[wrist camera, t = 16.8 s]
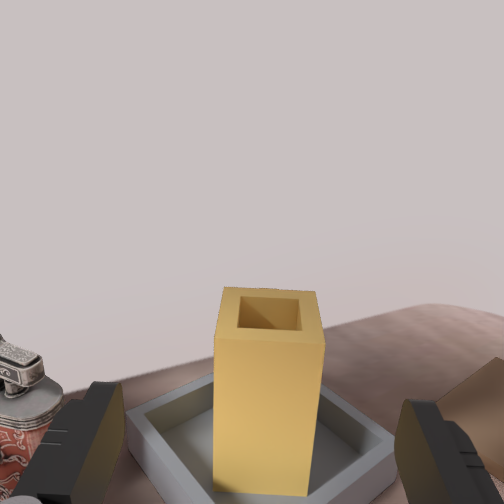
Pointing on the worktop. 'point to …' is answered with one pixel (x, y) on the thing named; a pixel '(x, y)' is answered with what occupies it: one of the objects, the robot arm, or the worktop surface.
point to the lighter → (23, 411)
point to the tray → (206, 500)
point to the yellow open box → (266, 390)
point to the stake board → (480, 413)
